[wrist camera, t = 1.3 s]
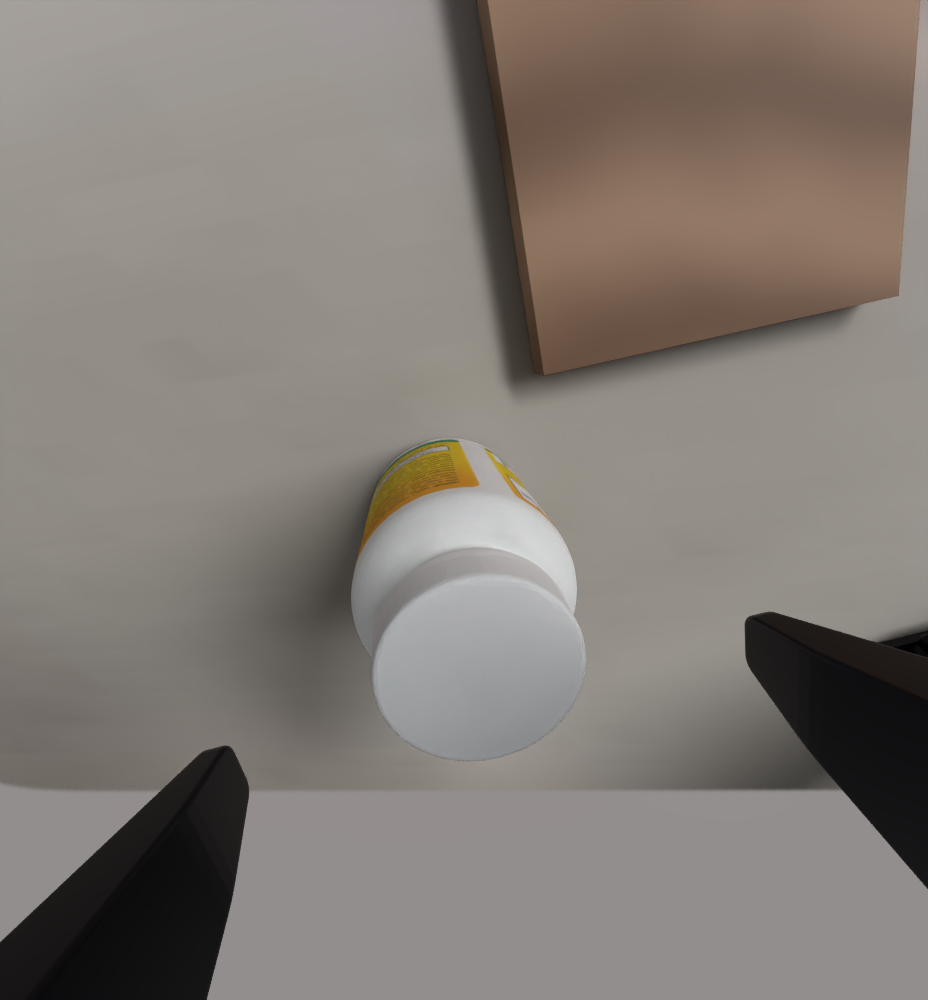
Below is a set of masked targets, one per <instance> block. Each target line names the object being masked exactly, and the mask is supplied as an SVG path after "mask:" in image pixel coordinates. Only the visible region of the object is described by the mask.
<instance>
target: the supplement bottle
mask: <svg viewBox="0 0 928 1000" xmlns="http://www.w3.org/2000/svg"><path fill="white" fill-rule="evenodd" d="M576 597H577V584H576V574H575V569H574V565H573V561H572V558H571V555H570V553H569V550H568V548H567V546H566V544H565V542H564V540H563V538H562V537H561V535H560V534H559V532H558V531H557V529H556V528H555V527H554V525H553V524H552V522H551V521H550V520H549V518H548V517H547V516H546V514H545V513H544V512H543V511H542V509H541V508H540V507H539V505H538V504H537V503H536V501H535V500H534V499H533V497H532V496H531V495H530V494H529V492H528V491H527V490H526V488H525V487H524V486H523V484H522V483H521V482H520V480H519V479H518V478H517V476H516V475H515V474H514V473H513V471H512V470H511V469H510V468H509V467H508V465H507V464H506V463H505V462H504V461H503V460H502V459H501V458H500V457H499V456H498V455H496V454H495V453H494V452H492V451H491V450H489V449H488V448H486V447H484V446H482V445H480V444H478V443H475V442H472V441H468V440H464V439H457V438H440V439H434V440H430V441H427V442H424V443H421V444H419V445H417V446H414V447H412V448H410V449H409V450H407V451H405V452H404V453H402V454H401V455H399V456H398V457H397V458H396V459H395V460H394V461H393V462H392V463H391V464H390V465H389V466H388V467H387V468H386V470H385V471H384V472H383V474H382V476H381V477H380V479H379V481H378V483H377V485H376V488H375V491H374V494H373V497H372V501H371V506H370V509H369V513H368V517H367V521H366V526H365V530H364V534H363V539H362V543H361V547H360V551H359V554H358V558H357V562H356V566H355V570H354V575H353V581H352V589H351V607H352V614H353V620H354V623H355V627H356V630H357V633H358V635H359V637H360V640H361V642H362V644H363V646H364V647H365V649H366V651H367V652H368V654H369V655H370V657H371V658H372V662H371V682H372V687H373V693H374V697H375V700H376V703H377V706H378V708H379V711H380V713H381V714H382V716H383V718H384V719H385V721H386V722H387V724H388V725H389V726H390V727H391V728H392V729H393V731H394V732H395V733H396V734H397V735H399V736H400V737H401V738H402V739H403V740H405V741H406V742H407V743H409V744H410V745H412V746H413V747H415V748H417V749H419V750H421V751H423V752H425V753H428V754H430V755H433V756H436V757H440V758H444V759H450V760H456V761H483V760H489V759H494V758H499V757H502V756H505V755H508V754H511V753H514V752H517V751H520V750H522V749H524V748H527V747H528V746H530V745H532V744H534V743H536V742H537V741H539V740H540V739H541V738H543V737H544V736H545V735H546V734H548V733H549V732H550V731H552V730H553V729H554V728H555V727H556V726H557V724H558V723H559V722H561V721H562V719H563V718H564V717H565V715H566V714H567V713H568V712H569V710H570V709H571V707H572V705H573V704H574V702H575V700H576V698H577V696H578V694H579V692H580V690H581V687H582V684H583V680H584V675H585V670H586V650H585V644H584V639H583V635H582V632H581V630H580V627H579V625H578V623H577V621H576V619H575V617H574V611H575V605H576Z"/></svg>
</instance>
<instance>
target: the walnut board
mask: <svg viewBox="0 0 928 1000" xmlns="http://www.w3.org/2000/svg"><path fill="white" fill-rule="evenodd" d="M477 5H478V12H479V18H480V24H481V31H482V37H483V44H484V50H485V56H486V63H487V69H488V76H489V82H490V88H491V95H492V101H493V108H494V114H495V121H496V127H497V133H498V140H499V146H500V153H501V159H502V165H503V172H504V178H505V185H506V191H507V197H508V204H509V210H510V217H511V223H512V230H513V236H514V242H515V249H516V255H517V262H518V268H519V274H520V281H521V287H522V294H523V300H524V306H525V313H526V319H527V326H528V332H529V338H530V345H531V351H532V358H533V364H534V371H535V373H537V374H541V375H548V374H553V373H557V372H562V371H566V370H570V369H575V368H579V367H584V366H588V365H593V364H597V363H602V362H606V361H610V360H615V359H619V358H624V357H628V356H633V355H637V354H642V353H646V352H651V351H655V350H659V349H664V348H668V347H673V346H677V345H682V344H686V343H691V342H695V341H699V340H704V339H708V338H713V337H717V336H722V335H726V334H731V333H735V332H739V331H744V330H748V329H753V328H757V327H762V326H766V325H771V324H775V323H779V322H784V321H788V320H793V319H797V318H802V317H806V316H811V315H815V314H820V313H824V312H828V311H833V310H837V309H842V308H846V307H851V306H855V305H860V304H864V303H868V302H873V301H877V300H882V299H886V298H891V297H895V296H899V283H900V269H901V256H902V242H903V228H904V215H905V201H906V188H907V174H908V161H909V147H910V134H911V120H912V106H913V93H914V79H915V66H916V52H917V39H918V25H919V12H920V0H477Z"/></svg>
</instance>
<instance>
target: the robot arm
mask: <svg viewBox="0 0 928 1000" xmlns="http://www.w3.org/2000/svg"><path fill="white" fill-rule="evenodd" d="M745 655H746V660H747V663H748V666H749V668H750V670H751V671H752V673H753V674H754V675H755V677H756V678H757V680H758V681H759V682H760V684H761V685H762V687H763V688H764V690H765V691H766V692H767V694H768V695H769V697H770V698H771V699H772V701H773V702H774V704H775V705H776V706H777V708H778V709H779V711H780V712H781V713H782V715H783V716H784V718H785V719H786V720H787V722H788V723H789V725H790V726H791V727H792V729H793V730H794V732H795V733H796V734H797V736H798V737H799V738H800V740H801V741H802V742H803V744H804V745H805V746H806V748H807V749H808V750H809V752H810V753H811V754H812V755H813V756H814V758H815V759H816V760H817V761H818V762H819V764H820V765H821V766H822V767H823V768H824V769H825V771H826V772H827V773H828V774H829V775H830V776H831V777H832V779H833V780H834V781H835V782H836V783H837V784H838V786H839V787H840V788H841V789H842V790H843V791H844V793H845V794H846V795H847V796H848V797H849V798H850V799H851V801H852V802H853V803H854V804H855V805H856V806H857V807H858V809H859V810H860V811H861V812H862V813H863V814H864V816H865V817H866V818H867V819H868V820H869V821H870V823H871V824H873V826H874V827H875V828H876V830H877V831H878V832H879V833H880V834H881V835H882V837H883V838H884V839H885V840H886V841H887V842H888V843H889V844H890V846H891V847H892V848H893V849H894V850H895V852H896V853H897V854H898V855H899V856H900V857H901V858H902V860H903V861H904V862H905V863H906V864H907V866H908V867H909V868H910V869H911V870H912V871H913V872H914V874H915V875H916V876H917V877H918V878H919V879H920V881H921V882H922V883H923V884H924V885H925V886H926V887H927V889H928V631H927V632H923V633H919V634H915V635H911V636H907V637H903V638H899V639H895V640H891V641H887V642H883V643H876V642H873V641H869V640H866V639H863V638H859V637H856V636H852V635H849V634H846V633H842V632H839V631H835V630H832V629H829V628H825V627H822V626H819V625H815V624H812V623H808V622H805V621H802V620H798V619H795V618H792V617H788V616H785V615H781V614H778V613H775V612H764V613H760V614H756V615H752V616H749V617H748V618H747V619H746V621H745ZM248 799H249V786H248V781H247V779H246V776H245V774H244V772H243V770H242V768H241V766H240V763H239V761H238V759H237V757H236V755H235V753H234V751H233V749H232V748H231V747H229V746H221V747H217V748H213V749H209V750H205V751H203V752H202V753H200V754H199V755H198V756H197V757H196V758H195V759H194V760H193V761H192V762H191V763H190V764H189V765H188V766H187V767H185V768H184V769H183V770H182V771H181V772H180V773H179V774H178V775H177V776H176V777H175V778H174V779H173V780H172V781H171V782H170V783H169V784H167V785H166V786H165V787H164V788H163V789H162V790H161V791H160V792H159V793H158V794H157V795H156V796H155V797H154V798H153V799H152V800H150V801H149V802H148V803H147V804H146V805H145V806H144V807H143V808H142V809H141V810H140V811H139V812H138V813H137V814H136V815H135V816H134V817H133V818H132V819H130V820H129V821H128V822H127V823H126V824H125V825H124V826H123V827H122V828H121V829H120V830H119V831H118V832H117V833H115V835H113V836H112V837H111V838H110V839H109V840H108V841H107V842H106V843H105V844H104V845H103V846H102V847H101V848H100V849H99V850H97V851H96V853H94V854H93V855H92V856H91V857H90V858H89V859H88V860H87V861H86V862H85V863H84V864H83V865H82V866H81V867H79V868H78V869H77V870H76V871H75V872H74V873H73V874H72V875H71V876H70V877H69V878H68V879H67V880H66V881H65V882H64V883H63V884H61V885H60V886H59V887H58V888H57V889H56V890H55V891H54V892H53V893H52V894H51V895H50V896H49V897H48V898H47V899H46V900H44V902H42V903H41V904H40V905H39V906H38V907H37V908H36V909H35V910H34V911H33V912H32V913H31V914H30V915H29V916H27V918H25V919H24V920H23V921H22V922H21V923H20V924H19V925H18V926H17V927H16V928H15V929H14V930H13V931H12V932H11V933H10V934H9V935H7V936H6V937H5V938H4V939H3V940H2V941H1V942H0V1000H207V996H208V992H209V988H210V984H211V980H212V976H213V973H214V969H215V965H216V961H217V957H218V953H219V949H220V945H221V941H222V938H223V934H224V930H225V925H226V922H227V918H228V914H229V909H230V905H231V901H232V896H233V891H234V886H235V880H236V874H237V868H238V861H239V855H240V849H241V843H242V836H243V829H244V824H245V818H246V811H247V804H248Z"/></svg>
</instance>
